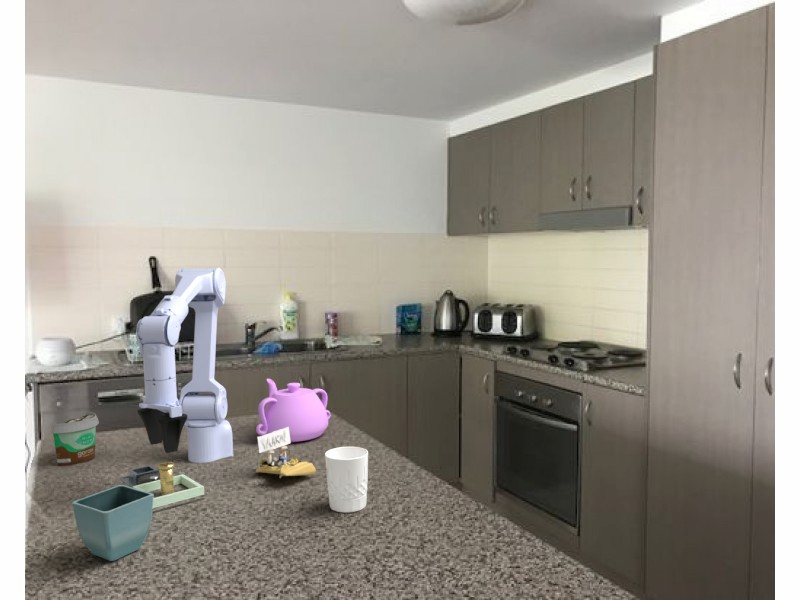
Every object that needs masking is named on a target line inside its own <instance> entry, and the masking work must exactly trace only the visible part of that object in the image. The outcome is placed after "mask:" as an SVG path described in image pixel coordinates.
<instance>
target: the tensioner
mask: <svg viewBox="0 0 800 600" xmlns="http://www.w3.org/2000/svg"><path fill="white" fill-rule="evenodd" d="M127 471H128V477H125V478H121V479H120V480H121V481H122V482H123V483H125V484H126V486H128V487H131V488H133V486H136V485H140V484H144V483H149V482H153V481H157V480H160V470H159V469H158V468H156V467H154V466H153V465H151V464H149V465H144V466H140V467H135V468H132V469H127Z"/></svg>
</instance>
